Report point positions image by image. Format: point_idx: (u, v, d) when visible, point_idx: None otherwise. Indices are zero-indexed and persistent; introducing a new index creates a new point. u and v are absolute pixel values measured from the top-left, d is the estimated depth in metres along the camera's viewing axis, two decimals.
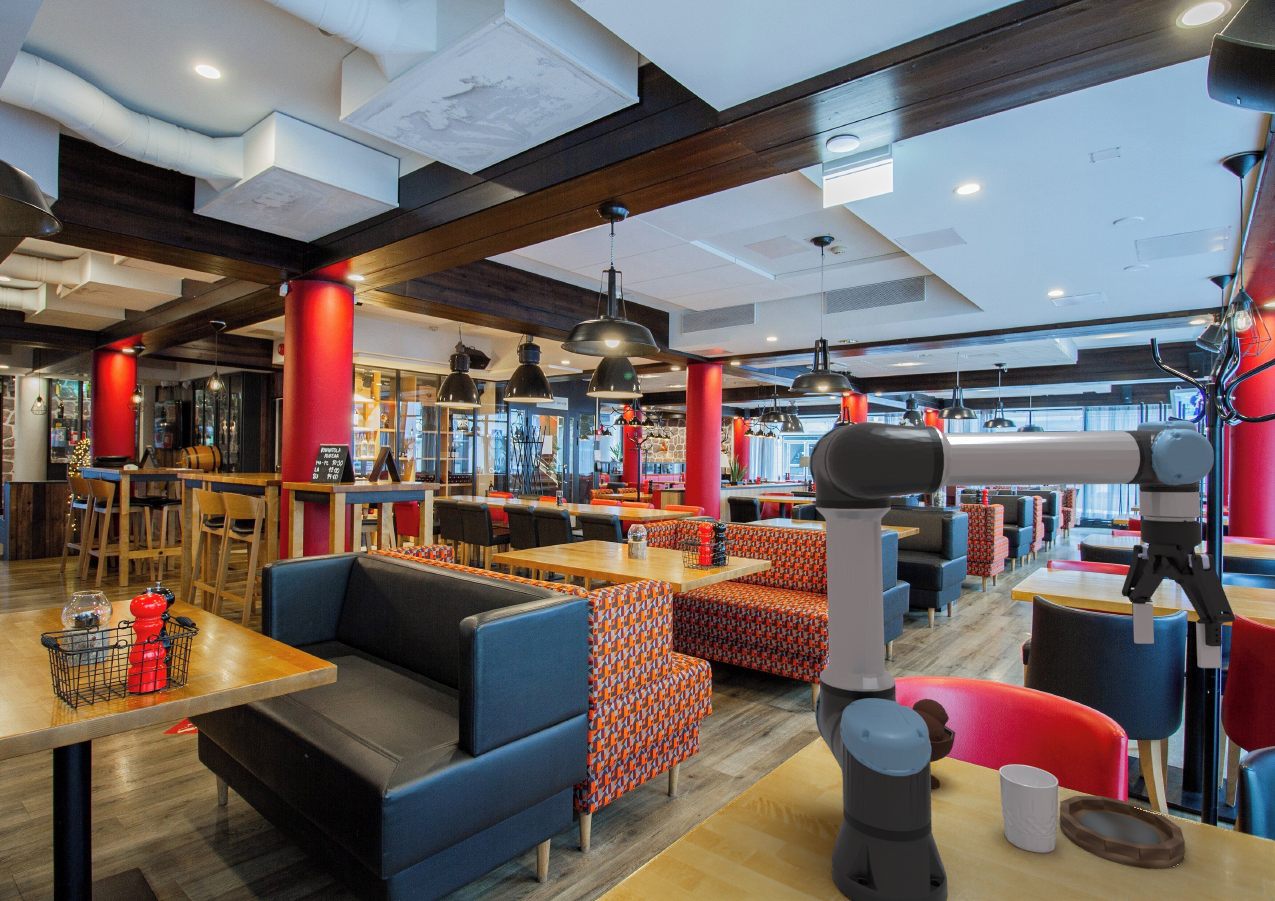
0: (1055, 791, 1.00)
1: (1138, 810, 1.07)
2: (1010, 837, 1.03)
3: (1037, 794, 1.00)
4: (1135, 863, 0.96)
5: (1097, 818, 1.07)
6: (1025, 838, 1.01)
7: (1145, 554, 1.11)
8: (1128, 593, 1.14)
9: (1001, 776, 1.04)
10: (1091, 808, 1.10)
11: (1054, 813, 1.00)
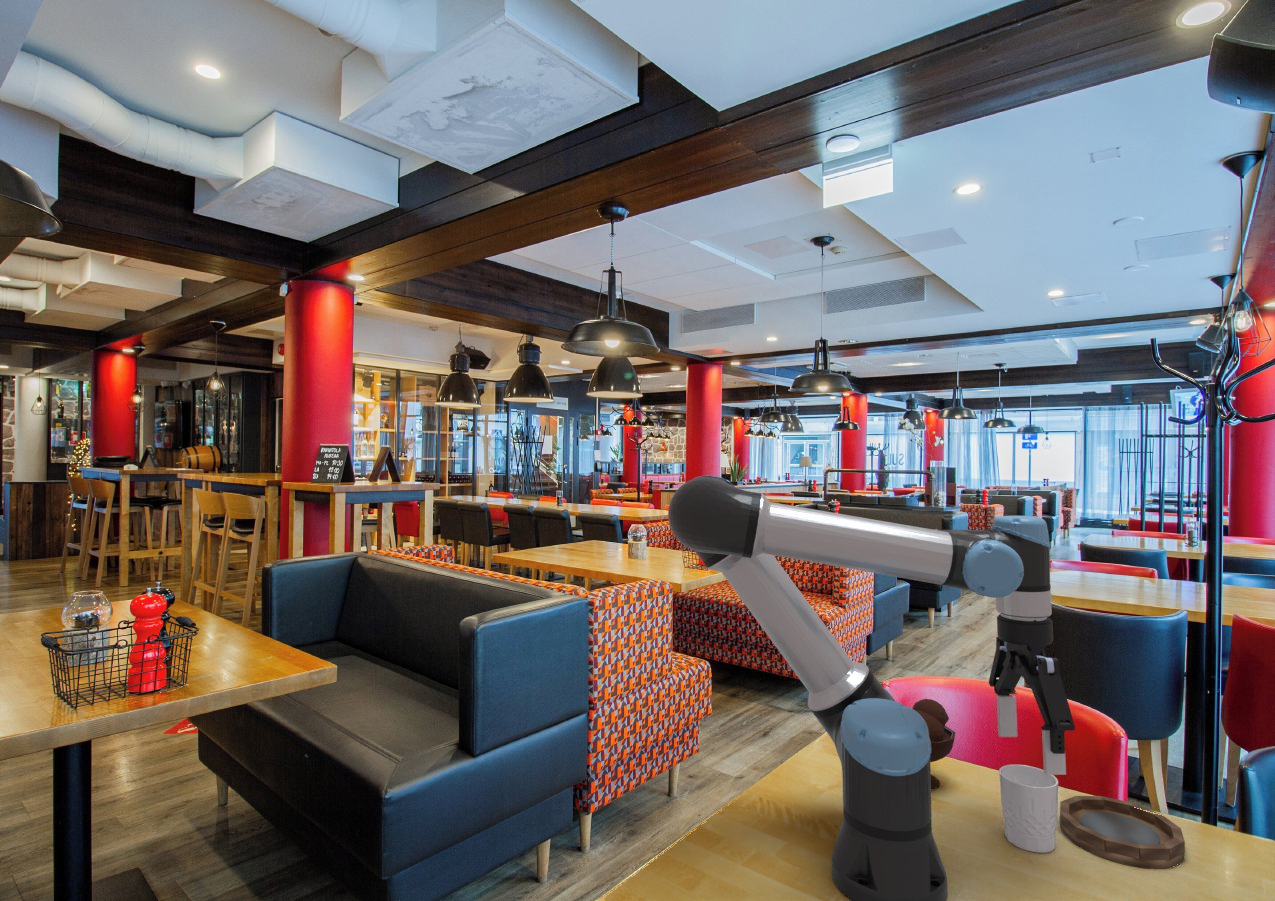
0: (1055, 791, 1.00)
1: (1138, 810, 1.07)
2: (1010, 837, 1.03)
3: (1037, 794, 1.00)
4: (1135, 863, 0.96)
5: (1097, 818, 1.07)
6: (1025, 838, 1.01)
7: (1006, 647, 1.09)
8: (994, 683, 1.13)
9: (1001, 776, 1.04)
10: (1091, 808, 1.10)
11: (1054, 813, 1.00)
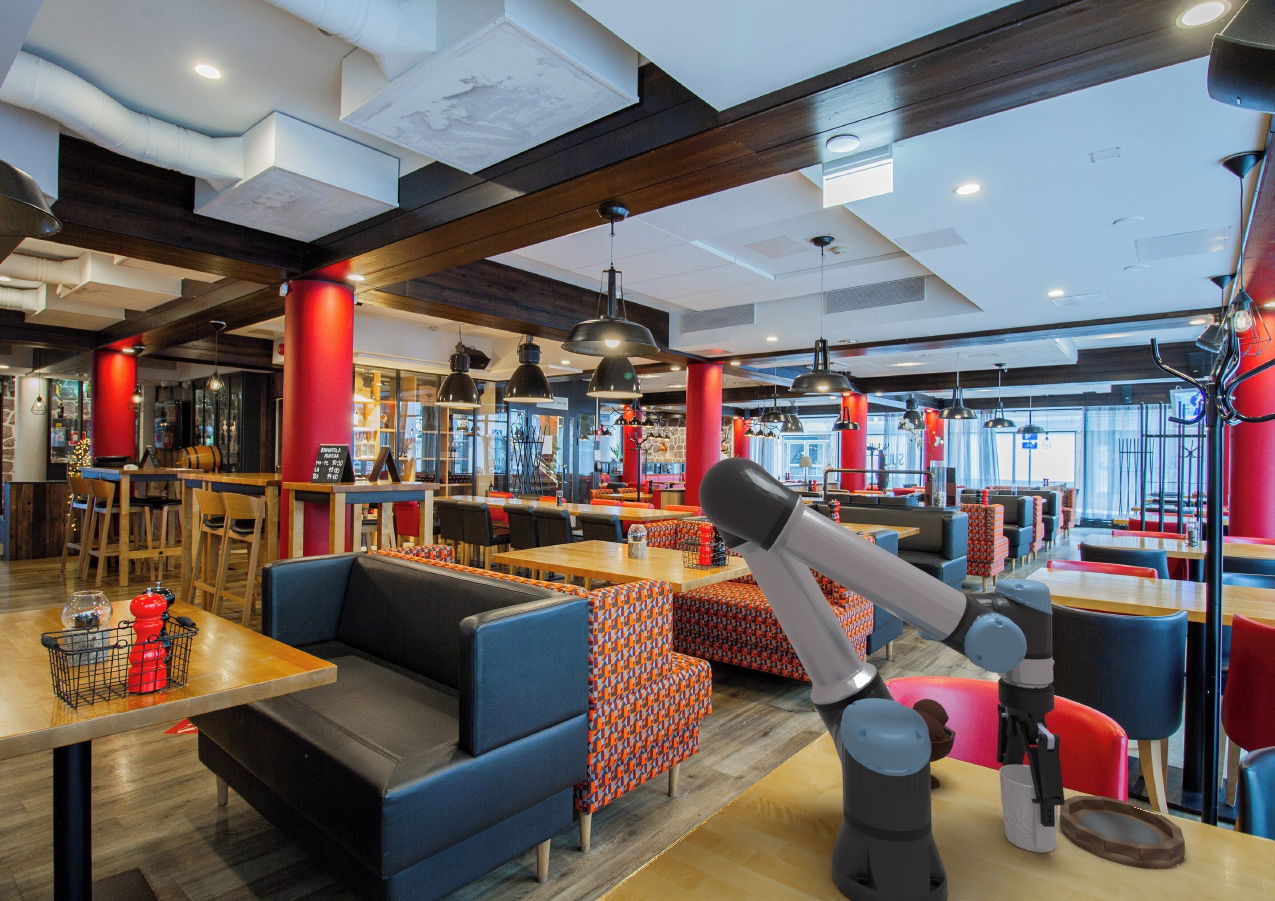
0: None
1: (1138, 810, 1.07)
2: (1010, 837, 1.03)
3: None
4: (1135, 863, 0.96)
5: (1097, 818, 1.07)
6: (1025, 837, 1.01)
7: (1008, 713, 1.09)
8: (1002, 759, 1.10)
9: (1001, 776, 1.04)
10: (1091, 808, 1.10)
11: None
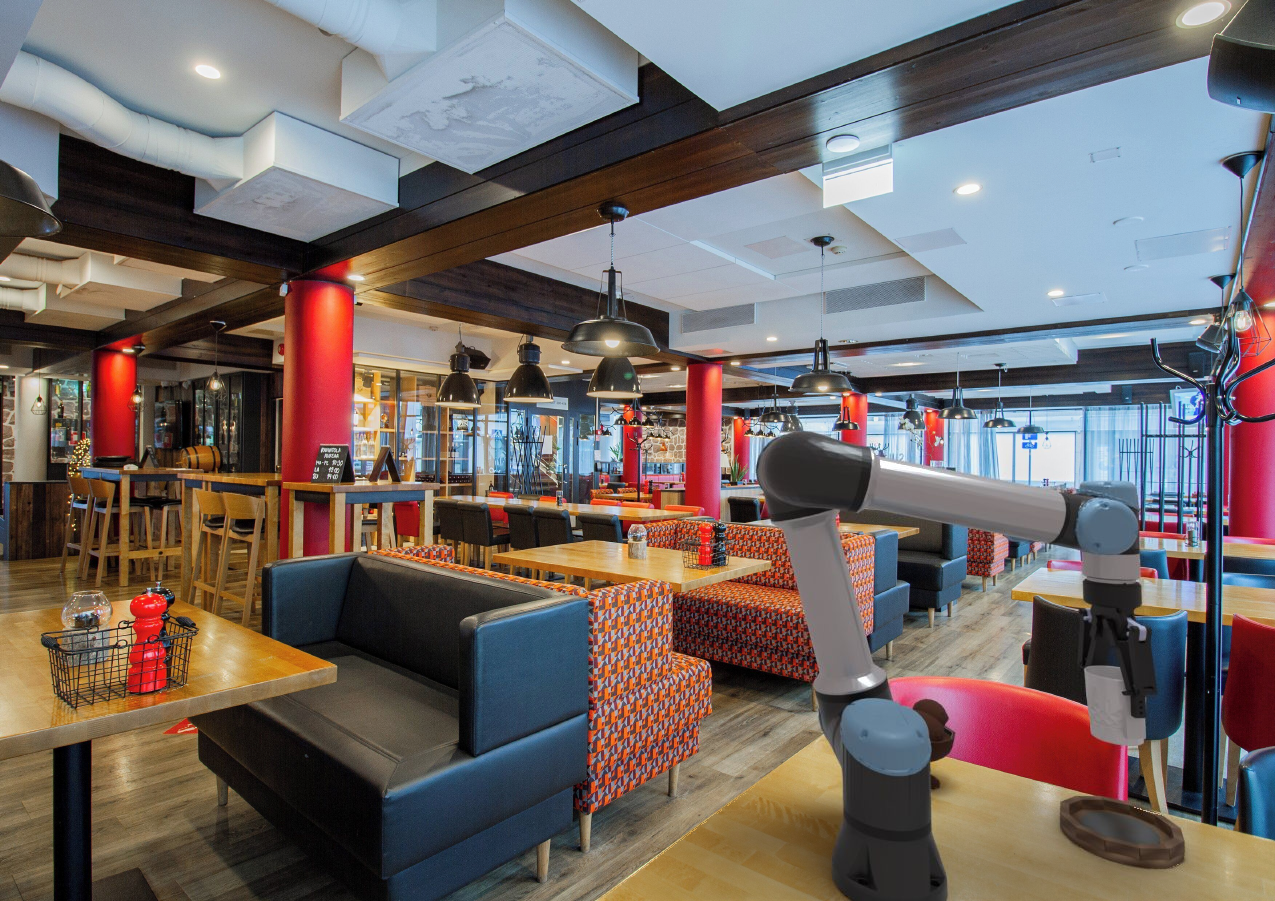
0: None
1: (1138, 810, 1.07)
2: (1098, 733, 1.03)
3: None
4: (1135, 863, 0.96)
5: (1097, 818, 1.07)
6: (1114, 732, 1.01)
7: (1090, 616, 1.09)
8: (1083, 663, 1.11)
9: (1087, 674, 1.05)
10: (1091, 808, 1.10)
11: None
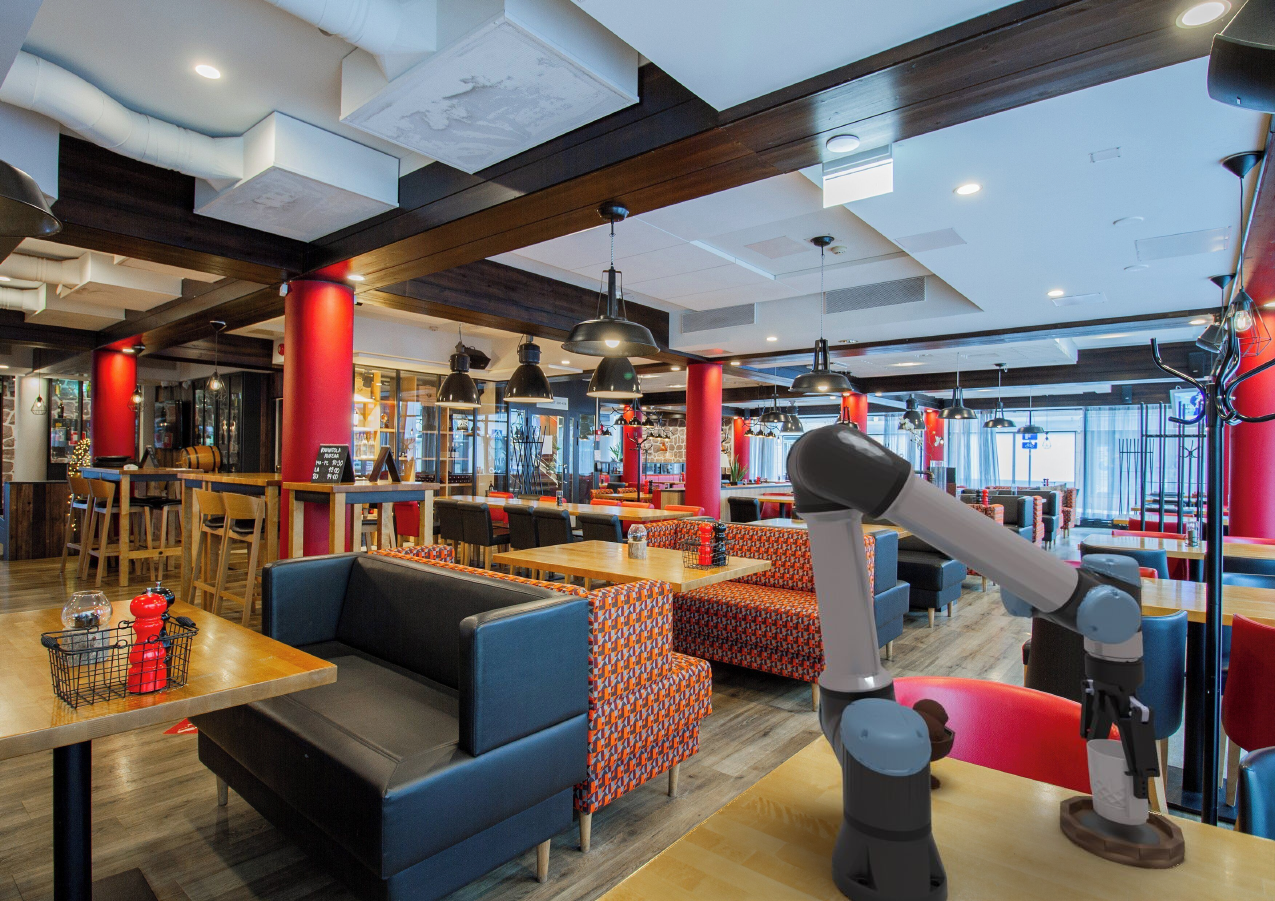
0: None
1: None
2: (1100, 810, 1.03)
3: None
4: (1135, 863, 0.96)
5: (1097, 818, 1.07)
6: (1117, 810, 1.01)
7: (1092, 689, 1.09)
8: (1086, 734, 1.10)
9: (1090, 750, 1.04)
10: (1091, 808, 1.10)
11: None
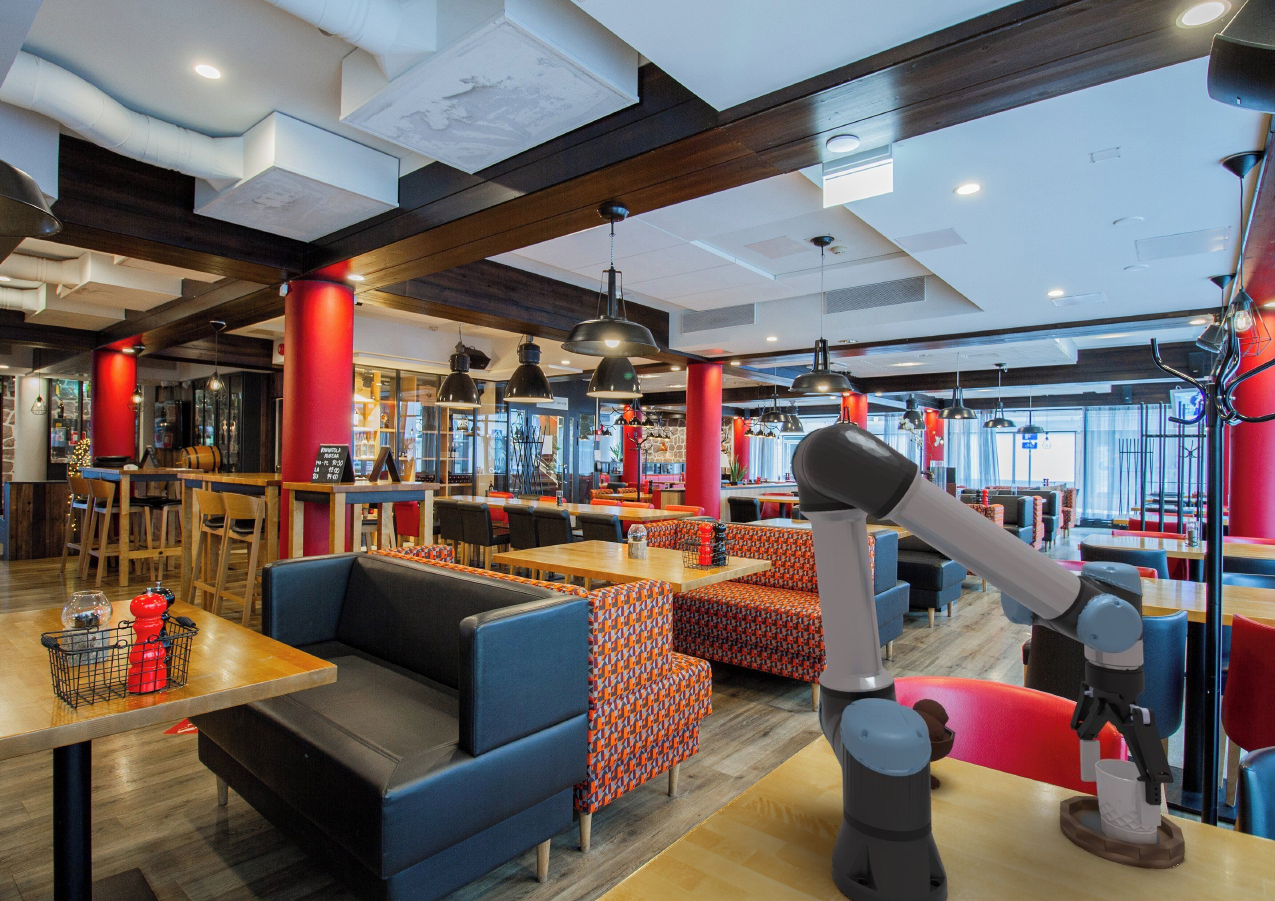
0: None
1: None
2: (1109, 833, 1.01)
3: None
4: (1135, 863, 0.96)
5: (1097, 818, 1.07)
6: (1126, 833, 0.99)
7: (1091, 692, 1.09)
8: (1076, 727, 1.13)
9: (1099, 771, 1.02)
10: (1091, 808, 1.10)
11: None
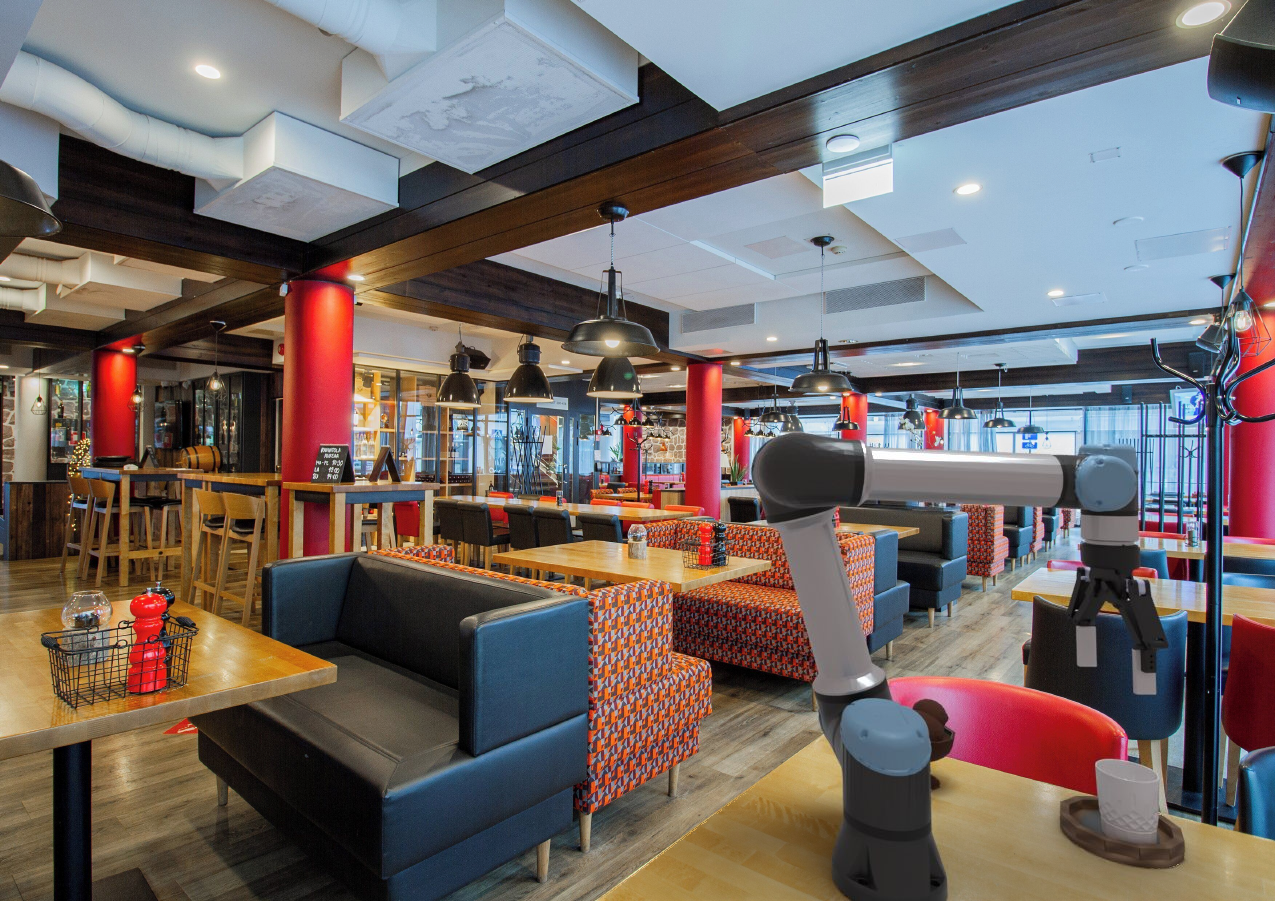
0: (1157, 786, 0.98)
1: None
2: (1109, 833, 1.01)
3: (1140, 788, 0.98)
4: (1135, 863, 0.96)
5: (1097, 818, 1.07)
6: (1126, 833, 0.99)
7: (1087, 577, 1.10)
8: (1072, 615, 1.13)
9: (1099, 771, 1.02)
10: (1091, 808, 1.10)
11: (1156, 808, 0.98)
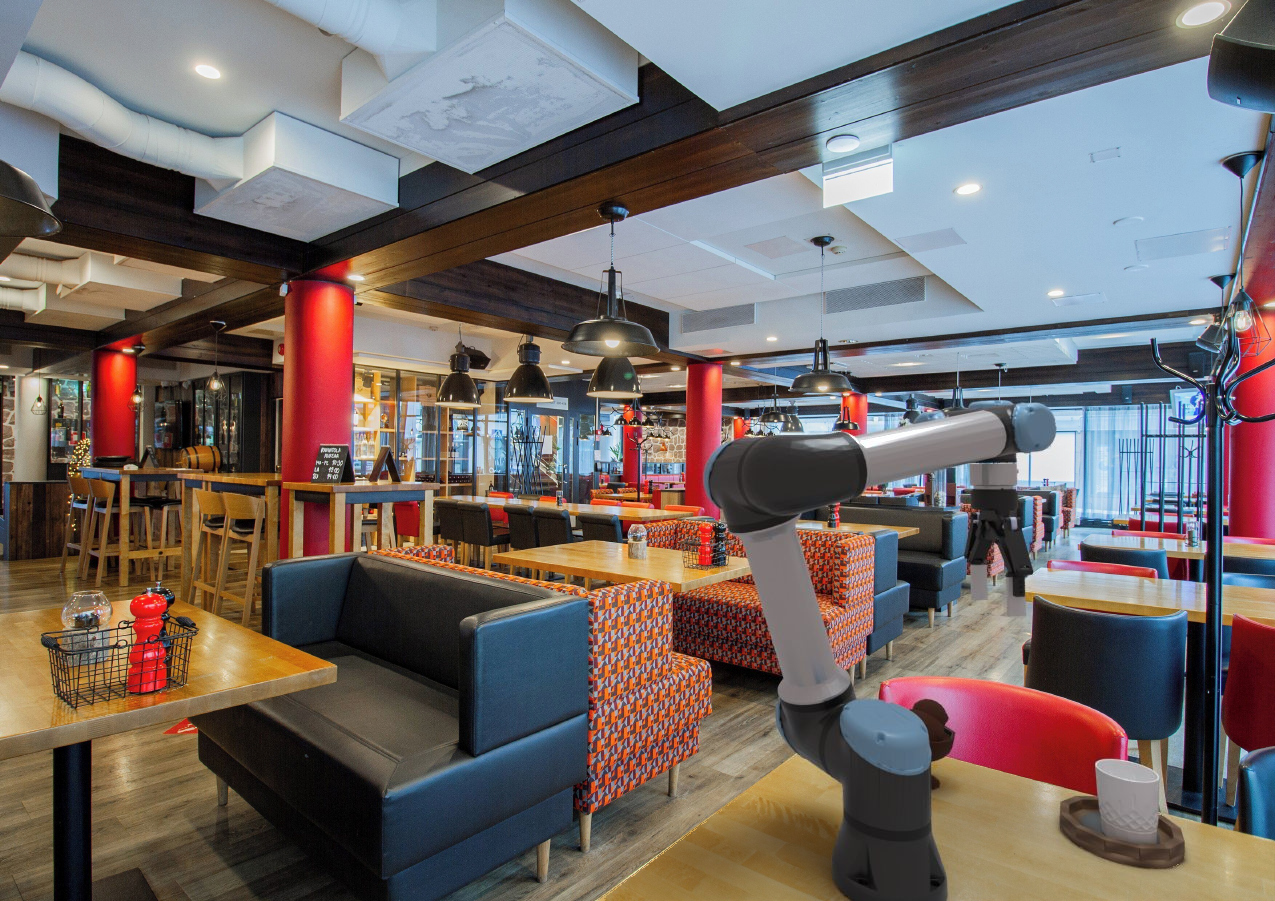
0: (1157, 786, 0.98)
1: None
2: (1109, 833, 1.01)
3: (1140, 788, 0.98)
4: (1135, 863, 0.96)
5: (1097, 818, 1.07)
6: (1126, 833, 0.99)
7: (978, 520, 1.24)
8: (968, 556, 1.28)
9: (1099, 771, 1.02)
10: (1091, 808, 1.10)
11: (1156, 808, 0.98)
